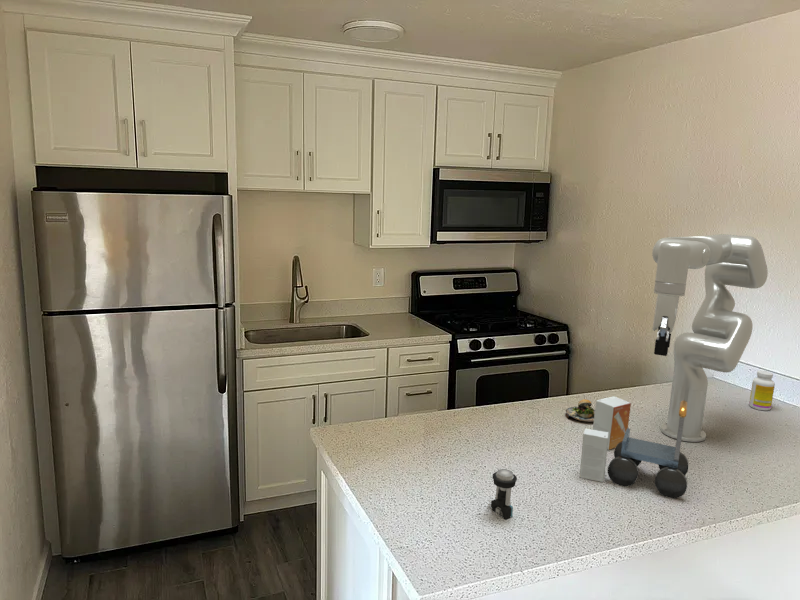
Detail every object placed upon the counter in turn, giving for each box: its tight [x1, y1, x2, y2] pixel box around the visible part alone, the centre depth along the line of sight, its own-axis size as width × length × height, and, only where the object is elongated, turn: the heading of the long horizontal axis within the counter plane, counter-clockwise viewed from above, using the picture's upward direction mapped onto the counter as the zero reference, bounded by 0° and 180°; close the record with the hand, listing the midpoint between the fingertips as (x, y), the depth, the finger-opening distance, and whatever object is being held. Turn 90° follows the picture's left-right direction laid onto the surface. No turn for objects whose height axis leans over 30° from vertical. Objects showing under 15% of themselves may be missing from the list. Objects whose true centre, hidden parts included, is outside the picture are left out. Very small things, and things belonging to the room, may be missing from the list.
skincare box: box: [579, 427, 609, 483], centre depth 152 cm, size 6×4×12 cm
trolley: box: [607, 401, 689, 499], centre depth 150 cm, size 13×18×21 cm
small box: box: [592, 395, 632, 451], centre depth 172 cm, size 8×6×13 cm
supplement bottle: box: [748, 370, 775, 412], centre depth 207 cm, size 7×7×13 cm
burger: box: [564, 393, 595, 423], centre depth 192 cm, size 12×12×8 cm
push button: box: [487, 468, 518, 521], centre depth 133 cm, size 7×5×10 cm
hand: (661, 350), depth 161 cm, fingers open, 9 cm apart
